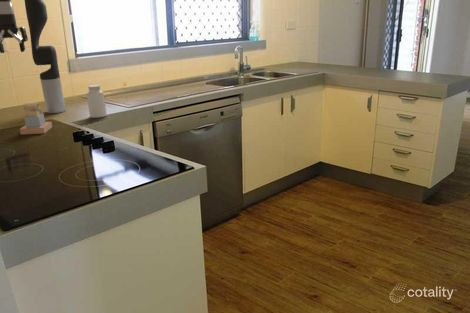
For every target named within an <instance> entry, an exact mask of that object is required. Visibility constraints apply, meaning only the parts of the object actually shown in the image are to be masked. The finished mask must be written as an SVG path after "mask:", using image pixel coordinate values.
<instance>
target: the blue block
mask: <svg viewBox="0 0 470 313" xmlns="http://www.w3.org/2000/svg"><path fill="white" fill-rule="evenodd" d="M23 119H24V123H25V125H26V127H41V126H42V125H43V124H45V122H46V118H45V114H44V113H42V114H40V115H39V116H36V117H26V116H24V118H23Z"/></svg>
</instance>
